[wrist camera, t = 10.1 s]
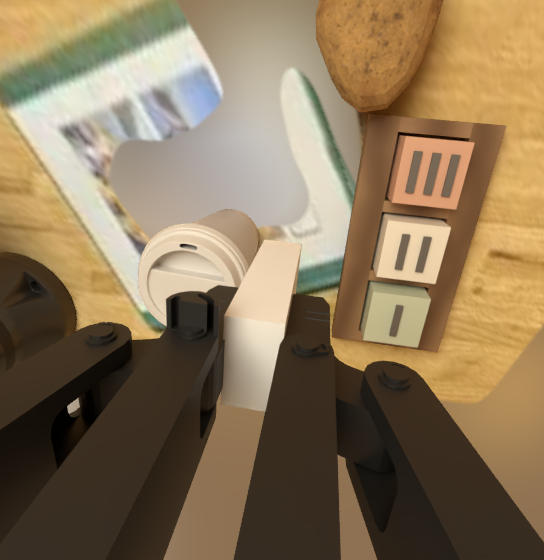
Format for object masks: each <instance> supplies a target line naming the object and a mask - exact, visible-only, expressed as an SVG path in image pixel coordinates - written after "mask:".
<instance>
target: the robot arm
mask: <svg viewBox="0 0 544 560" xmlns="http://www.w3.org/2000/svg"><path fill="white" fill-rule="evenodd" d="M301 245H302V244H297V243H289V242H281V241H272V240H264V242H263V243H262V245H261V247H260V249H259V251H258V253H257V255H256V257H255V258H254V260H253V262H252V264H251V266H250V268H249V270H248V272H247V273H246V275H245V277H244V279H243V281H242V283H241V285H240V287H239V288H238V287H230V286H223V285H217V286H215V287H214V288H212V289H210V290H208V291H207V293H205V292H201V291H186V292H179V293H176V294H173V295H171V296H169V297H168V298H167V299H166V321H167V329H166V330H165V331H164V333H163V334H162V335H161V337H160V338H158V339H146V340H132V336H131V331H130V330H129V328H128V327H126V326H124V325H122V324H118V323H112V322H107V323H105V322H102V323H98V324H93V325H89V326H87V327H84V328H82V329H80V330H78V331H76V332H74V330H75V326H76V314H75V309H74V305H73V302H72V300H71V297H70V295H69V293H68V292H67V290H66V288H65V287H64V285H63V284H62V283H61V282H60V280H59V279H58V278H57V277H56V276H55V275H54V274H53V273H52V272H51V271H50V270H48V269H47V268H46V267H45V266H43V265H42V264H40V263H38V262H37V261H35V260H33V259H31V258H29V257H26V256H23V255H20V254H15V253H0V560H163V558H164V556H165V553H166V550H167V548H168V545H169V542H170V540H171V537H172V534H173V532H174V529H175V526H176V524H177V521H178V518H179V515H180V513H181V510H182V507H183V505H184V502H185V499H186V497H187V494H188V491H189V488H190V486H191V483H192V481H193V478H194V475H195V472H196V470H197V467H198V464H199V462H200V459H201V456H202V454H203V451H204V448H205V445H206V443H207V440H208V437H209V435H210V432H211V429H212V427H213V424H214V421H215V418H216V402H217V399H218V397H219V394H220V392H221V404H222V405H228V406H234V407H240V408H246V409H252V410H258V411H265V416H264V421H263V425H262V430H261V434H260V439H259V444H258V448H257V453H256V458H255V462H254V467H253V472H252V477H251V481H250V486H249V490H248V495H247V500H246V504H245V509H244V513H243V519H242V523H241V528H240V532H239V537H238V541H237V547H236V551H235V555H234V560H341V554H340V526H339V525H340V524H339V523H340V522H339V493H338V460H337V454H338V455H340V456H342V457H344V458H345V459H346V467H347V470H348V473H349V476H350V479H351V482H352V485H353V488H354V491H355V494H356V497H357V500H358V503H359V506H360V509H361V512H362V515H363V518H364V521H365V524H366V527H367V530H368V533H369V536H370V539H371V542H372V545H373V548H374V551H375V553H376V557H377V560H544V542H543V541H542V539H541V538H540V537H539V535H538V534H537V533H536V531H535V530H534V529H533V528H532V526H531V524H530V523H529V522H528V521H527V519H526V518H525V516H524V515H523V514H522V513H521V511H520V510H519V508H518V507H517V506H516V504H515V503H514V501H513V500H512V499H511V497H510V496H509V495H508V493H507V492H506V491H505V489H504V488H503V486H502V485H501V484H500V483H499V481H498V480H497V479H496V477H495V476H494V474H493V473H492V472H491V470H490V469H489V468H488V466H487V465H486V463H485V462H484V461H483V459H482V458H481V457H480V455H479V454H478V453H477V451H476V450H475V449H474V448H473V446H472V444H471V443H470V442H469V440H468V439H467V438H466V436H465V435H464V434H463V432H462V431H461V430H460V428H459V427H458V426H457V424H456V423H455V422H454V420H453V419H452V418H451V416H450V415H449V413H448V412H447V411H446V409H445V408H444V407H443V405H442V404H441V402H440V401H439V400H438V398H437V397H436V396H435V394H434V393H433V392H432V390H431V389H430V388H429V386H428V385H427V383H426V382H425V381H424V379H423V378H422V377H421V376H420V375H419V374H418V373H417V372H416V371H414V370H412V369H410V368H409V367H407V366H405V365H402V364H399V363H396V362H390V361H377V362H373V363H371V364H369V365H367V367H366V369H365V371H364V372H363V371H361V370H358V369H355V368H353V367H350V366H348V365H346V364H344V363H343V362H341V361H339V360H338V359H337V358H336V357H335V356H334V351H333V348H332V346H331V345H330V305H329V304H328V303H327V302H326V301H325V299H324V298H322V297H314V296H307V295H299V294H296V287H297V278H298V270H299V262H300V253H301ZM78 397H79V404H80V408H78V409H77V410H76V411H75V412H72V413H70V414H69V413H68V409H67V406H68V405H69V404H70V403H72V402H73V401H74V400H76V399H77V398H78Z"/></svg>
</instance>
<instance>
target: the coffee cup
mask: <svg viewBox="0 0 544 560" xmlns="http://www.w3.org/2000/svg"><path fill="white" fill-rule="evenodd" d="M258 243H259V235H258V231H257V228H256V226H255V224H254V222H253V221H252V220H251V219H250V218H249V217H248V216H247V215H246V214H244V213H242V212H240V211H237V210H233V209H225V210H221V211H218V212H216V213H214V214H211V215H209V216H207V217H205V218H203V219H200V220H198V221H196V222H194V223H191V224H178V225H174V226H171V227H168V228H166V229H164V230H162V231H160V232H159V233H158V234H156V235H155V236H154V237H153V238H152V239H151V240H150V241H149V243H148V244H147V246H146V247H145V249H144V251H143V253H142V256H141V258H140V262H139V269H138V286H139V291H140V295H141V298H142V300H143V302H144V304H145V306H146V308H147V309H148V310H149V312H150V313H151V314H152V315H153V316H154V317H155V318H156V319H157V320H158V321H159V322H161V323H162V324H164V325H165V326H167V321H166V299H167V298H168V297H169V296H171V295H173V294H176V293H179V292H186V291H201V292H205V293H207V291H208V290H210V289H212V288H214V287H215V286H217V285H223V286H230V287H238V288H239V287H240V285H241V283H242V281H243V279H244V277H245V275H246V273H247V272H248V270H249V268H250V266H251V264H252V262H253V260H254V258H255V254H256V251H257V247H258Z"/></svg>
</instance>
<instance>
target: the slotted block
mask: <svg viewBox="0 0 544 560" xmlns="http://www.w3.org/2000/svg"><path fill="white" fill-rule="evenodd" d="M430 301H431V298H430V297H429V295H428V293H427V292H426V290H425V288H424V287H419V286H412V285H404V284H396V283H388V282H380V281H372V280H368V285H367V290H366V295H365V300H364V305H363V310H362V315H361V320H360V325H361V331H362V336H363V340H366V341H374V342H381V343H388V344H395V345H402V346H409V347H416V348H418V345H419V341H420V337H421V334H422V330H423V327H424V323H425V319H426V316H427V312H428V309H429V305H430Z"/></svg>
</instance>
